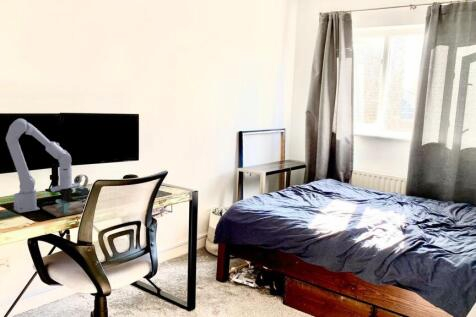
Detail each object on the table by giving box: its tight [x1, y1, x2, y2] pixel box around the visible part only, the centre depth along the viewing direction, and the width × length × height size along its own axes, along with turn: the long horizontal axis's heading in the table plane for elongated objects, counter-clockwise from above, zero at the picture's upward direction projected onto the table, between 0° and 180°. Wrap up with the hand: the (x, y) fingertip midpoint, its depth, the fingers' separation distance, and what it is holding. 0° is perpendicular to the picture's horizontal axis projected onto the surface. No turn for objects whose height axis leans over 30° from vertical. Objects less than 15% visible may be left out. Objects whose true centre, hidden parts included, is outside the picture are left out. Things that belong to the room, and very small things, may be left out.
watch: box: [73, 173, 89, 196], centre depth 236 cm, size 6×8×11 cm
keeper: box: [55, 198, 69, 213], centre depth 200 cm, size 2×9×5 cm, turn 47°
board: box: [41, 199, 84, 218], centre depth 207 cm, size 21×17×1 cm
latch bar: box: [56, 198, 87, 211], centre depth 205 cm, size 16×4×3 cm, turn 142°
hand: (66, 203), depth 209 cm, fingers closed
